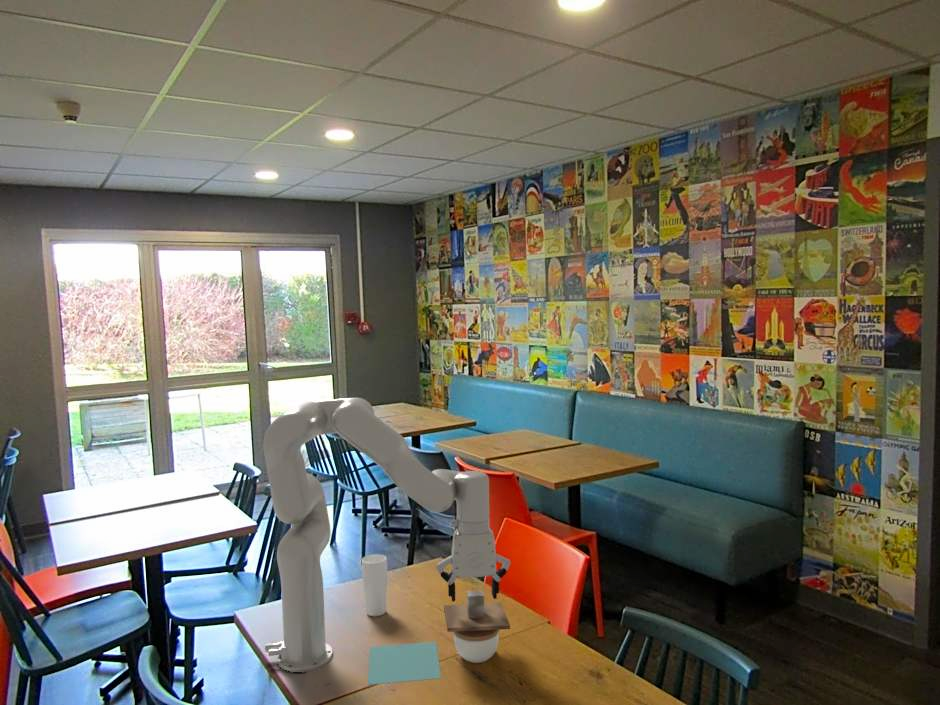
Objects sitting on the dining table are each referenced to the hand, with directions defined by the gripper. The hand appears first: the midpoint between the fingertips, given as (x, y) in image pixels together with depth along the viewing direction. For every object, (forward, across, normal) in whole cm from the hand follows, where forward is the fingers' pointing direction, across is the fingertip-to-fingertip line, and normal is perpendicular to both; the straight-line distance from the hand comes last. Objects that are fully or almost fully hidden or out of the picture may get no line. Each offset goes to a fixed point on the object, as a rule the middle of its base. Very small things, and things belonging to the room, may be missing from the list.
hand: (473, 597), depth 151 cm
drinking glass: (+15, -23, +27) cm, 39 cm away
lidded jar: (+15, +1, 0) cm, 15 cm away
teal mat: (+15, -16, 0) cm, 22 cm away
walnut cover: (+5, 0, 0) cm, 5 cm away
